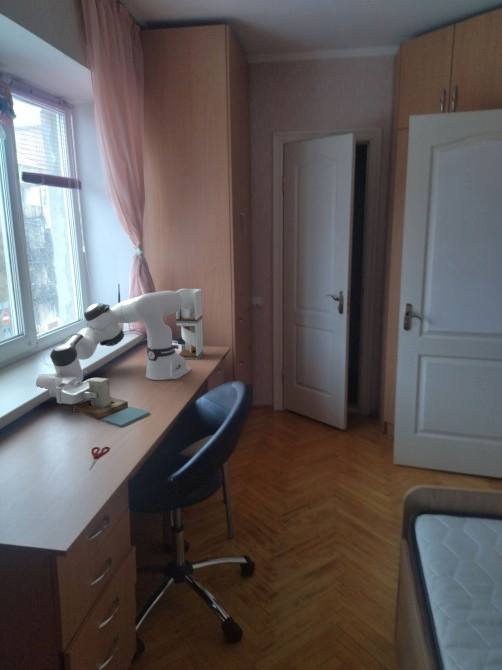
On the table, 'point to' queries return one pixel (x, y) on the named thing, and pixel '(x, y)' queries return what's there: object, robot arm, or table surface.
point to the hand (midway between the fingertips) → (101, 392)
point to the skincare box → (100, 392)
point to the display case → (191, 323)
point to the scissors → (98, 454)
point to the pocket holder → (101, 413)
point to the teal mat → (125, 416)
